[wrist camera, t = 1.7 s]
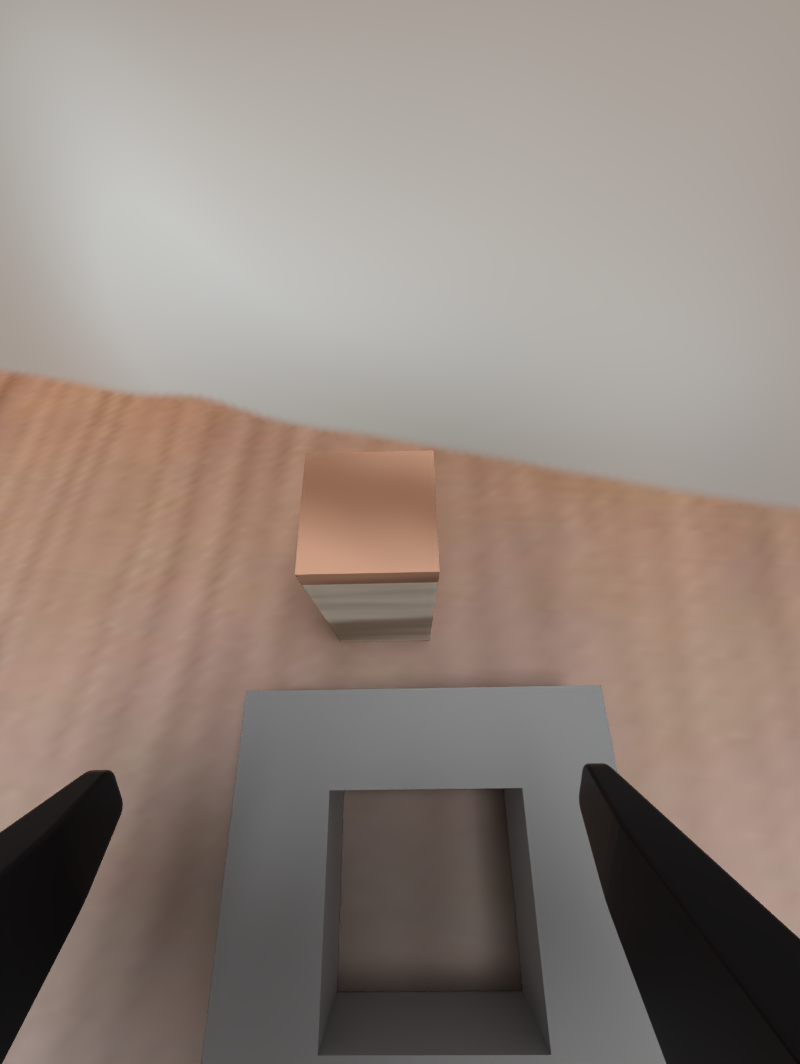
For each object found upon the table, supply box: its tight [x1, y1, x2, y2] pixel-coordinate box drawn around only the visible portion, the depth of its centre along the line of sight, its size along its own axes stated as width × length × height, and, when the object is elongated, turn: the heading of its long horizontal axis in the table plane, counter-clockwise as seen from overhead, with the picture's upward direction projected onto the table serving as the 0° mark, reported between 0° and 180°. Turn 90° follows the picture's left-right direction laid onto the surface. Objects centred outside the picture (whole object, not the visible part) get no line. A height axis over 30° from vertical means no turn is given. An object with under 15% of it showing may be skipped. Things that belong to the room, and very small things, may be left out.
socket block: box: [201, 685, 666, 1064], centre depth 17 cm, size 14×14×4 cm
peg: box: [295, 450, 440, 642], centre depth 20 cm, size 4×4×10 cm
